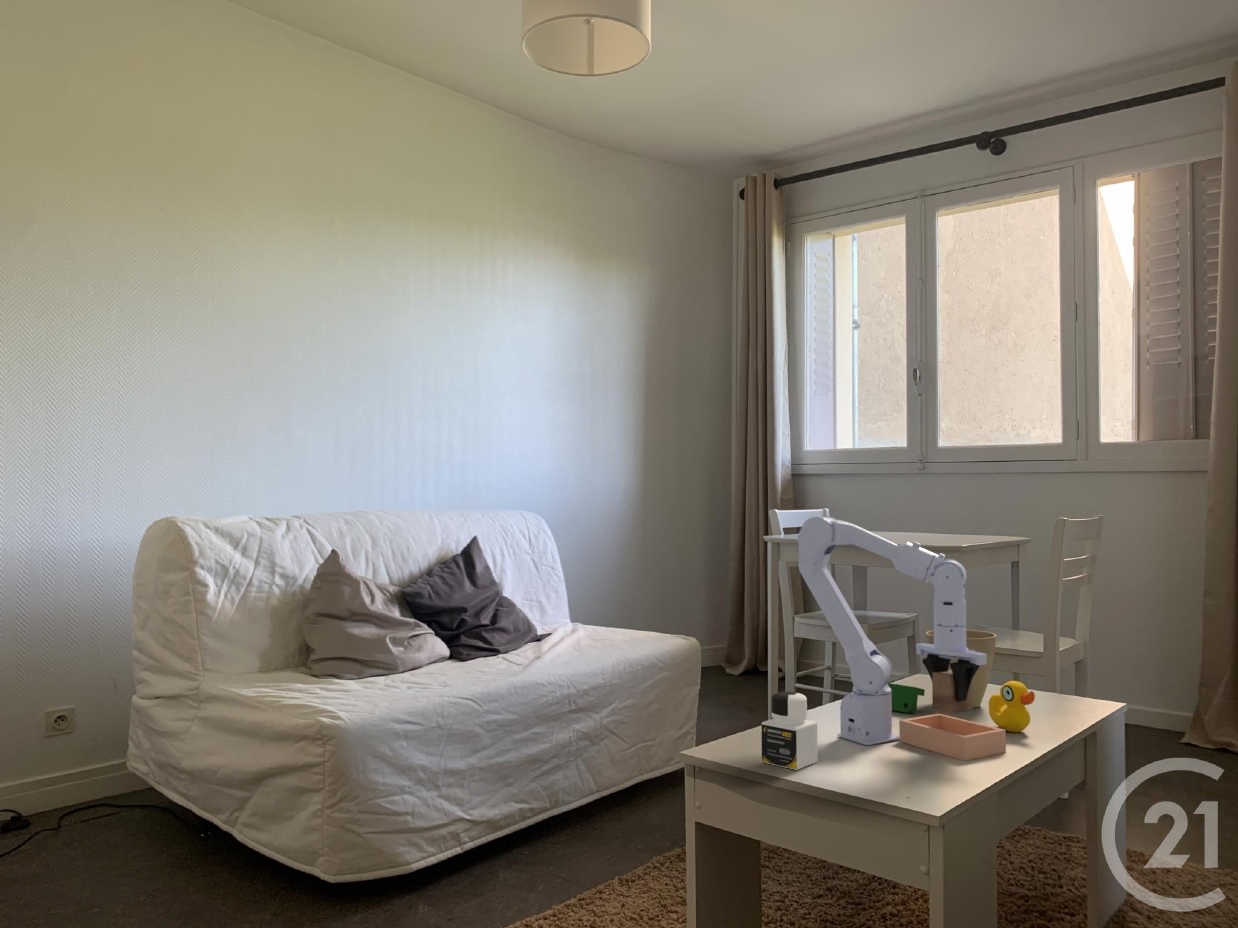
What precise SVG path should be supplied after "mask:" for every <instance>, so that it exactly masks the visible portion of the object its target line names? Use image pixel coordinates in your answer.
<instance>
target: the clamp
mask: <svg viewBox="0 0 1238 928" xmlns="http://www.w3.org/2000/svg"><path fill="white" fill-rule="evenodd" d="M887 683H888V686H889V687H890V688H891V699H892V711H894V712H900V713H901V712H902V713H908V714H913V713H915V712H916V711H917V707H918V698H919V696H922V697H925V689H923V688H920V687H917V686H911V685H904V684H899V683H890V682H887Z"/></svg>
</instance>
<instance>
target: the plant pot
mask: <svg viewBox="0 0 1238 928" xmlns="http://www.w3.org/2000/svg"><path fill="white" fill-rule="evenodd" d="M925 635H926V642H927V643H926V644H933V645H934V629H933V630H929V631H928V630H927V631H926V632H925ZM996 641H997V634H995V633H993V632H989V631H985V630H984V631H982V630H978V629H977V630H975V629H966V646H967V648H968V649H969V650H973V651H976V652H980V653H985V654H987V664H986V665H979V668H978V670H977V671H976V673H975V675H974V677H973V679H972V709H976V708H979V707H980V706H981V704H982V702H983V699H984V697H985V693H986V690H987V687H988V684H989V679H990V676H991V672H992V668H993V664H994V657H995V649H996V643H997V642H996ZM948 656H949V655H948ZM954 657H956V656H954ZM954 662H958V661H957V660H952V659H951V660H950V663H954ZM948 670H951V667H950V664H949V668H948Z"/></svg>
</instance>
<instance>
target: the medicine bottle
mask: <svg viewBox="0 0 1238 928" xmlns="http://www.w3.org/2000/svg"><path fill="white" fill-rule="evenodd" d="M807 703H808V700H807V696H806V695H804V694H802V693H800V692H796V691H779V692H777V693H774V694H773V695H772V696H771V719H769V720H765V721H762V722H761V724H760V725H761V763H762V762H764V763H769V764H772V765H771V766H773V765H777V766H783V767H785V768H784V769H786V768H790V769H794V770H797V771H799V770H802V769H804V768H806V767H805V766H807V767H809V766H811V764H812V765H814V764H817V763H818V760H819V759H818V722H817V721H815V720H809V719H807V718H808V704H807ZM816 762H817V763H816ZM764 763H763V764H764ZM808 765H809V766H808ZM777 766H776V767H777ZM803 767H804V768H803ZM801 768H802V769H801ZM790 769H789V770H790ZM798 769H799V770H798ZM794 770H793V771H794Z"/></svg>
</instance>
